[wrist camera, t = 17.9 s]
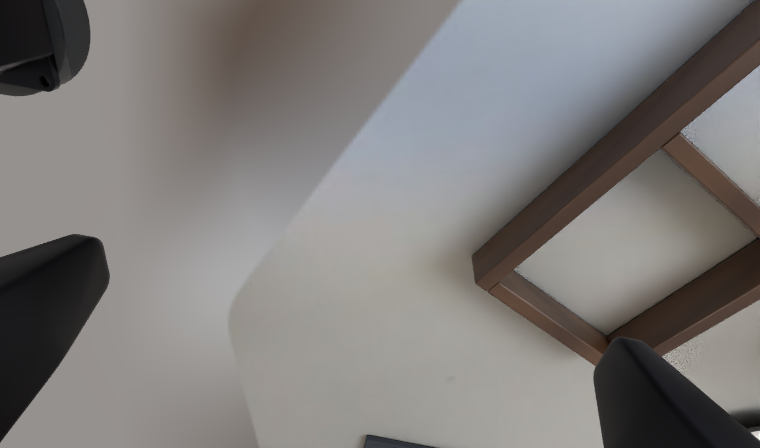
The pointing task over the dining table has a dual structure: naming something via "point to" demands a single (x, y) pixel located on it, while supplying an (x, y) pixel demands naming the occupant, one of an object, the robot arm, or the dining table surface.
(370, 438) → the coaster
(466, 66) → the dining table surface
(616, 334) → the frame
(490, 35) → the dining table surface
